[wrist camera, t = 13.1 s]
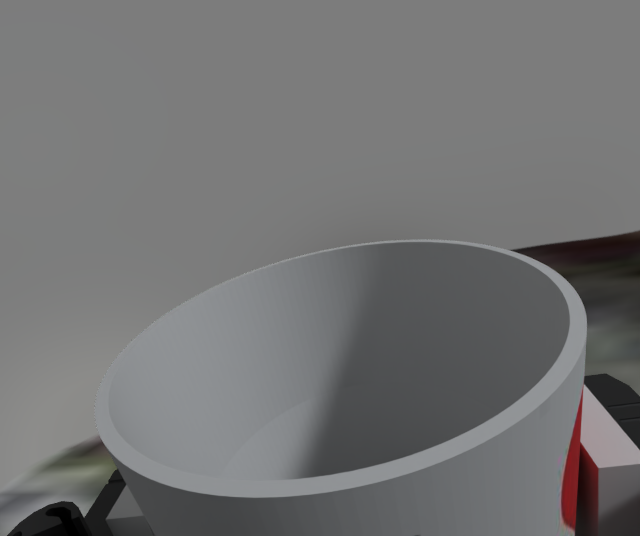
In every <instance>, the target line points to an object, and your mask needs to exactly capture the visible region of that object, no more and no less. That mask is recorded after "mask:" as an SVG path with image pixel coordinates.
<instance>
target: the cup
mask: <svg viewBox="0 0 640 536" xmlns="http://www.w3.org/2000/svg"><path fill="white" fill-rule="evenodd" d="M586 336H587V317H586V312H585V309H584V306H583V303H582V301H581V299H580V297H579V295H578V294H577V292H576V291H575V289H574V288H573V287H572V286H571V285H570V283H569V282H568V281H567V280H566V279H565V278H563V277H562V276H561V275H560V274H558V273H557V272H556V271H554V270H553V269H551V268H550V267H548V266H546V265H544V264H543V263H541V262H539V261H537V260H534V259H532V258H530V257H527V256H525V255H522V254H519V253H516V252H513V251H510V250H506V249H502V248H498V247H494V246H489V245H483V244H477V243H470V242H462V241H451V240H450V241H449V240H395V241H382V242H373V243H364V244H357V245H350V246H344V247H338V248H333V249H328V250H323V251H318V252H315V253H310V254H305V255H302V256H298V257H294V258H290V259H287V260H283V261H280V262H277V263H273V264H270V265H267V266H264V267H261V268H258V269H256V270H253V271H250V272H248V273H245V274H242V275H240V276H237V277H235V278H232V279H230V280H228V281H225V282H223V283H221V284H219V285H216V286H214V287H212V288H210V289H208V290H206V291H204V292H202V293H200V294H198V295H196V296H194V297H193V298H191V299H189V300H187V301H186V302H184V303H182V304H180V305H179V306H177V307H175V308H174V309H172V310H171V311H169V312H168V313H166V314H165V315H163V316H162V317H160V318H159V319H158V320H156V321H155V322H154V323H152V324H151V325H150V326H149V327H147V328H146V329H145V330H143V331H142V332H141V333H140V334H139V335H138V336H137V337H135V338H134V339H133V340H132V341H131V342H130V343H129V344H128V346H126V347H125V348H124V350H123V351H122V352H121V353H120V354H119V356H118V357H117V358H116V359H115V361H114V362H113V363H112V365H111V366H110V368H109V369H108V371H107V372H106V374H105V376H104V378H103V380H102V382H101V385H100V387H99V390H98V393H97V396H96V402H95V421H96V427H97V430H98V433H99V435H100V437H101V439H102V441H103V443H104V445H105V446H106V448H107V450H108V452H109V454H110V455H111V457H112V459H113V461H114V463H115V464H116V466H117V468H118V470H119V472H120V473H121V475H122V477H123V479H124V481H125V482H126V484H127V486H128V488H129V490H130V491H131V493H132V495H133V497H134V499H135V500H136V502H137V504H138V506H139V507H140V509H141V511H142V513H143V515H144V516H145V518H146V520H147V522H148V524H149V525H150V527H151V529H152V531H153V533H154V534H155V536H575V523H576V506H577V489H578V472H579V455H580V438H581V421H582V404H583V387H584V370H585V353H586Z"/></svg>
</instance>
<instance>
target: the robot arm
mask: <svg viewBox="0 0 640 536" xmlns="http://www.w3.org/2000/svg"><path fill="white" fill-rule="evenodd" d="M7 536H155V534H154V533H153V531H152V529H151V527H150V525H149V524H148V522H147V520H146V518H145V516H144V515H143V513H142V511H141V509H140V507H139V506H138V504H137V502H136V500H135V499H134V497H133V495H132V493H131V491H130V490H129V488H128V486H127V484H126V482H125V481H124V479H123V477H122V475H121V473H120V472H119V470H118V469H117V470H115V471H114V473H113V474H112V476H111V477H110V479H109V483H108V484H106V485H105V487H104V488H103V490H102V491H101V493H100V494H99V496H98V498H97V499H96V501H95V502H94V504H93V505H92V507H91V508H90V510H89V511H88V513H87V514H86V516H85V518H84V517H83V515H82V514H81V512H80V510H79V508H78V507H77V506H76V505H75V504H74V503H73V502H65V501H61V502H58V503H54V504H50V505H47V506H46V507H44V508H42V509H40V510H38V511H36V512H34V513H32V514H31V515H30V516H28V517H27V518H26V519H24V520H23V521H21V522H20V523H19V524H18V525H17V526H16V527H15V528H14V529H13V530H12V531H11V532H10V533H9V534H8V535H7ZM575 536H640V396H639V395H638V394H637V393H636V392H635V391H634V390H633V389H632V388H631V387H630V386H629V385H627V384H625V383H623V382H621V381H619V380H617V379H615V378H613V377H611V376H610V375H608V374H598V375H591V376H584V387H583V404H582V421H581V438H580V455H579V472H578V489H577V506H576V523H575Z"/></svg>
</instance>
